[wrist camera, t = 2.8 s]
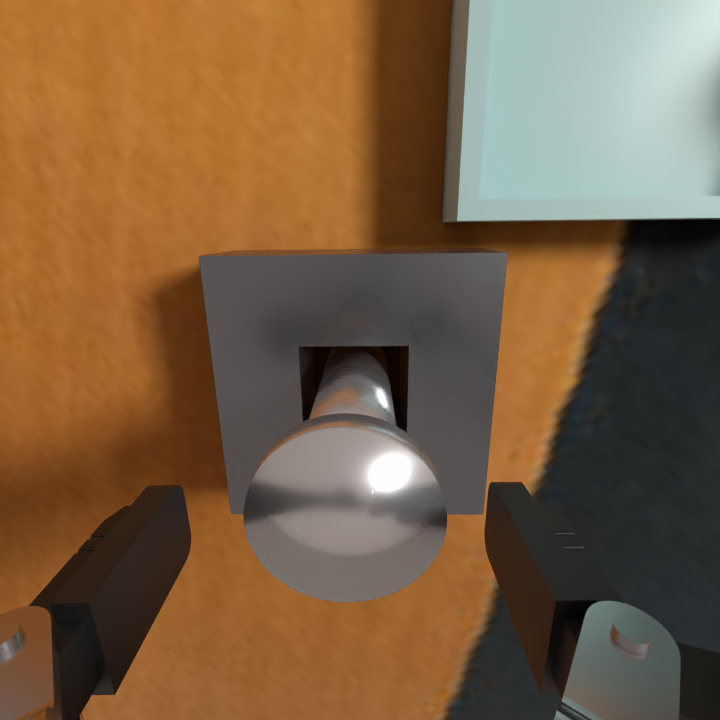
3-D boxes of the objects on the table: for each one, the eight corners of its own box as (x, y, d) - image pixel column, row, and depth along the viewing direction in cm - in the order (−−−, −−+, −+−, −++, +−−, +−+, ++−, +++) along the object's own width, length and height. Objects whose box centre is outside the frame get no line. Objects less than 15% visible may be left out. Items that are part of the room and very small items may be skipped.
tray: (897, -240, 15) (1052, -377, 11) (771, 218, 19) (855, 215, 16) (462, -225, 15) (489, -355, 12) (442, 222, 20) (457, 220, 16)
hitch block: (477, 247, 20) (507, 252, 16) (462, 463, 24) (483, 514, 19) (234, 250, 20) (198, 256, 16) (255, 463, 24) (231, 514, 20)
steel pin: (404, 318, 21) (452, 431, 9) (402, 407, 23) (442, 602, 11) (308, 319, 21) (233, 432, 9) (312, 407, 23) (253, 601, 11)
